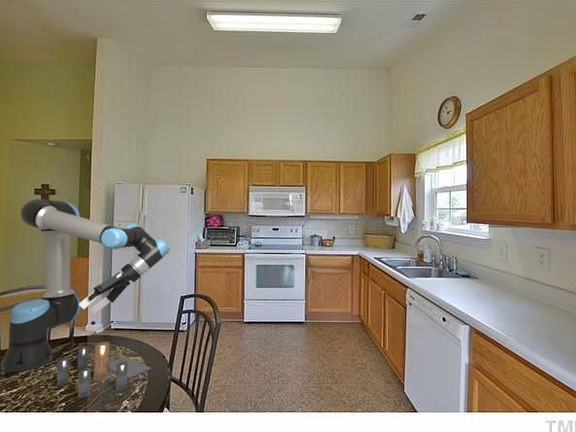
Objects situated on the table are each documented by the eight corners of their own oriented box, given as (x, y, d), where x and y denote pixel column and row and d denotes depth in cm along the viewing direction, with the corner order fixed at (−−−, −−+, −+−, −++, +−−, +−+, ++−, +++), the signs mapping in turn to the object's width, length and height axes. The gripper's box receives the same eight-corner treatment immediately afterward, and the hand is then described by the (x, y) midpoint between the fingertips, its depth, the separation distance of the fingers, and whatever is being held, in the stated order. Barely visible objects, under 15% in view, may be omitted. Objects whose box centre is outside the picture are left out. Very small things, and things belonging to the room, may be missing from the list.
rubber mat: (101, 366, 119) (102, 365, 119) (124, 358, 127) (124, 357, 127) (128, 378, 111) (128, 377, 111) (150, 369, 118) (150, 367, 118)
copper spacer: (90, 378, 110) (92, 344, 110) (103, 374, 114) (105, 340, 114) (97, 382, 108) (99, 347, 108) (110, 377, 111) (111, 343, 112)
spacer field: (47, 379, 109) (48, 356, 109) (84, 366, 119) (85, 345, 120) (90, 404, 94) (91, 377, 95) (128, 387, 105) (129, 363, 105)
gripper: (135, 267, 116) (83, 312, 106) (146, 282, 138) (103, 319, 128) (121, 254, 116) (68, 297, 107) (134, 270, 138) (91, 307, 129)
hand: (87, 309), depth 117 cm, fingers open, 13 cm apart
